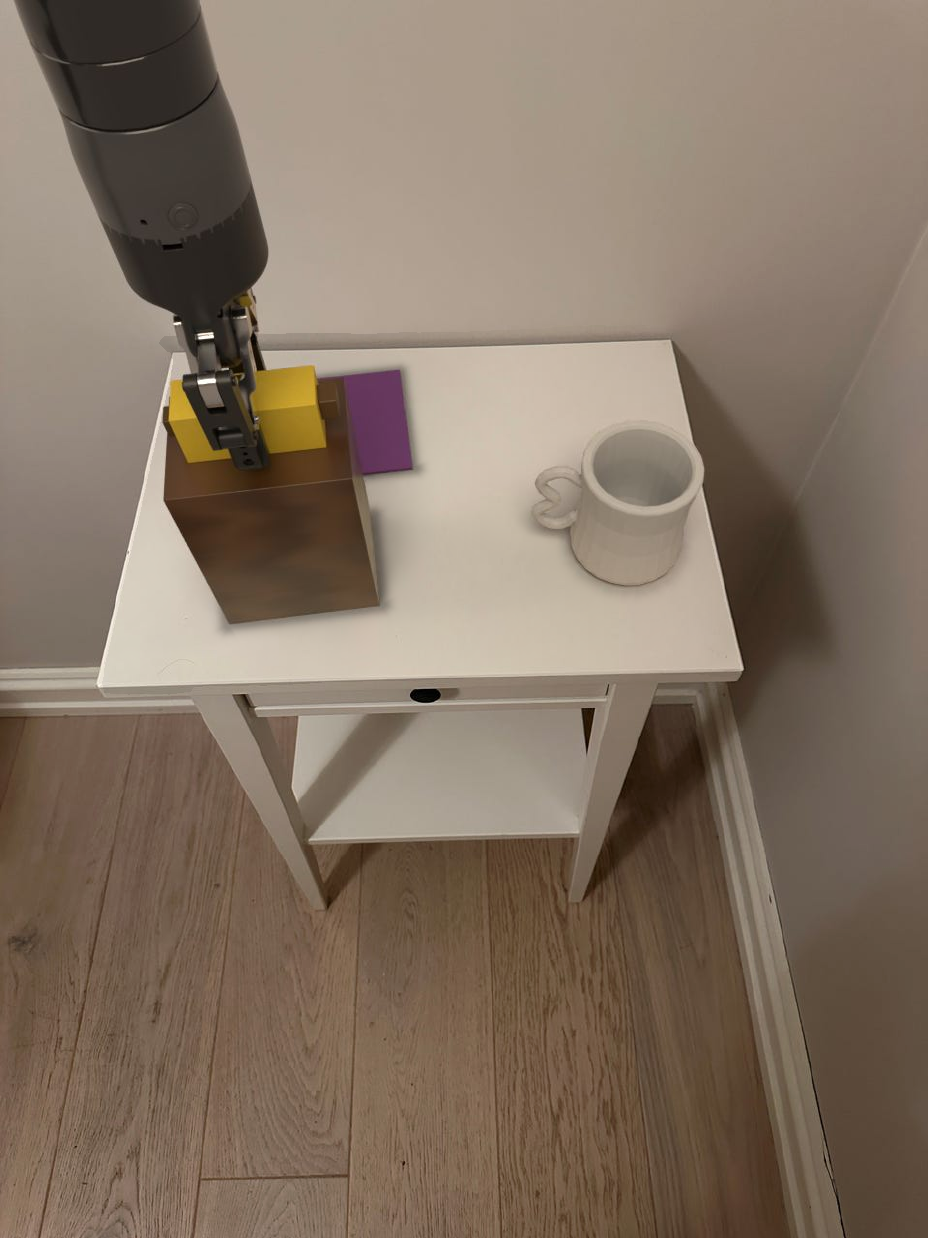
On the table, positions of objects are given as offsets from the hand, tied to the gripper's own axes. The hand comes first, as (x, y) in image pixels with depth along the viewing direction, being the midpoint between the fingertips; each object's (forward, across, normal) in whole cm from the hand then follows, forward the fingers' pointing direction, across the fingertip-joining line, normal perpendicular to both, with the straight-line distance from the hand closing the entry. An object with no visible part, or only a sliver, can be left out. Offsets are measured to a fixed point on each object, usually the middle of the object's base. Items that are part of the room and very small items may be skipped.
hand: (253, 423), depth 56 cm
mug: (+17, +1, +25) cm, 30 cm away
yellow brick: (+1, 0, 0) cm, 1 cm away
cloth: (+17, -15, +3) cm, 23 cm away
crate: (+17, 0, 0) cm, 17 cm away
